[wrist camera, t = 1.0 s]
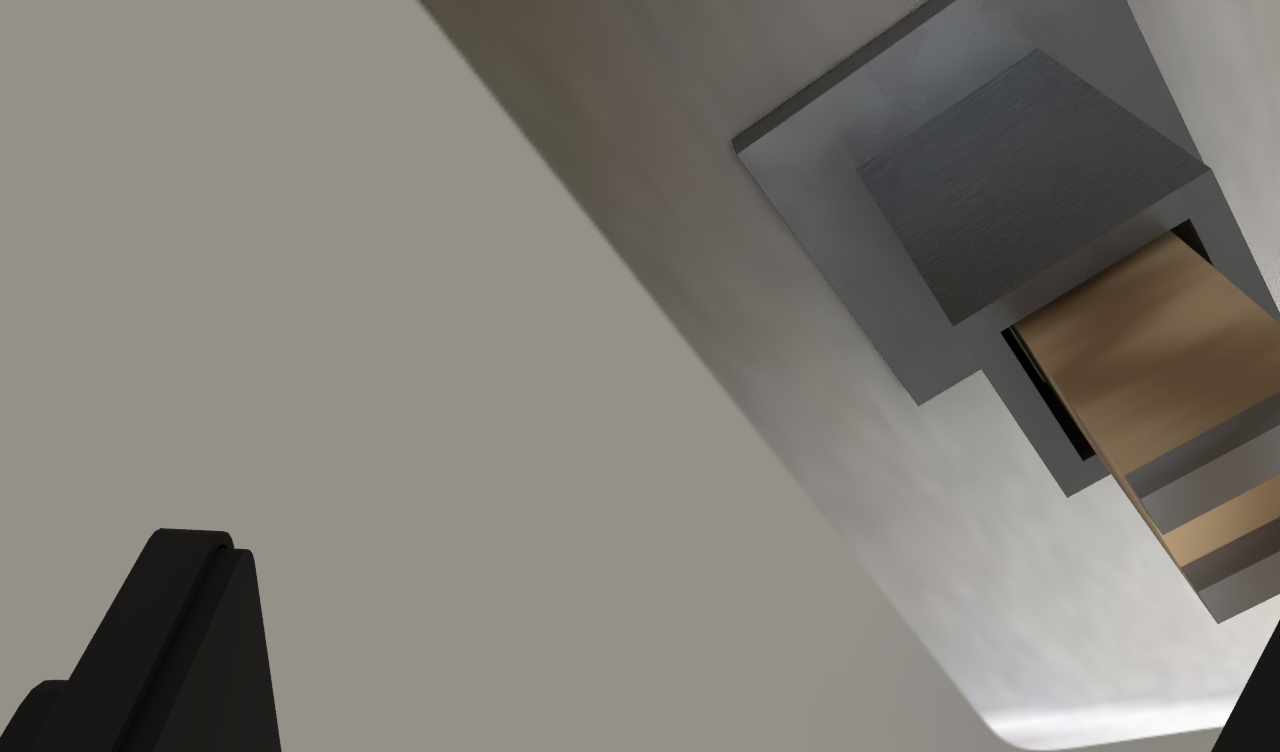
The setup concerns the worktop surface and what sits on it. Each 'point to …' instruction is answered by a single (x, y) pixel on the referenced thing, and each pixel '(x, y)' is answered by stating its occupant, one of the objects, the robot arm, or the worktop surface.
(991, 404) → the worktop surface
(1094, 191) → the stand
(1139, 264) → the column
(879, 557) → the worktop surface
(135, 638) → the robot arm
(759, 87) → the worktop surface
